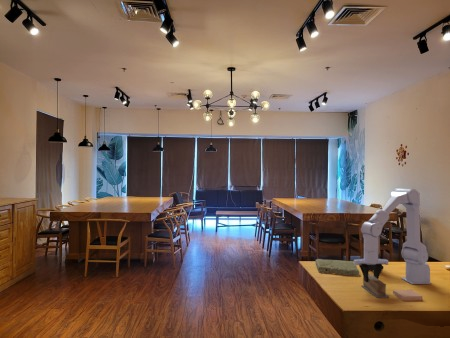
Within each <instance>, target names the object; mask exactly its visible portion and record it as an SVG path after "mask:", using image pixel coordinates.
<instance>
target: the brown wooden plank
mask: <svg viewBox="0 0 450 338" xmlns="http://www.w3.org/2000/svg"><path fill="white" fill-rule="evenodd" d="M373 275H374V274H371V273H368V282H366V281H364V276H363V275H362V276H363V277H362V278H363V279H362V285H365V286H366V287H367V288H368V289H370V290H371V291H372V292H373V293H375V294H376V295H377V296H379V295H387V294H386V291H387V289H386V287H387V284H386V283H384V282H383V281H382V280H380V279H379V278H378V279H377V278H376V277H374V276H373Z"/></svg>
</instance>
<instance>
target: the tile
mask: <svg viewBox="0 0 450 338" xmlns="http://www.w3.org/2000/svg"><path fill="white" fill-rule="evenodd" d="M392 294H393V295H394V296H396V297H397V298H398V299H400V300H401V301H423V295H421V294H420V293H418V292H416V291H414V290H413V289H393V290H392Z"/></svg>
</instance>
